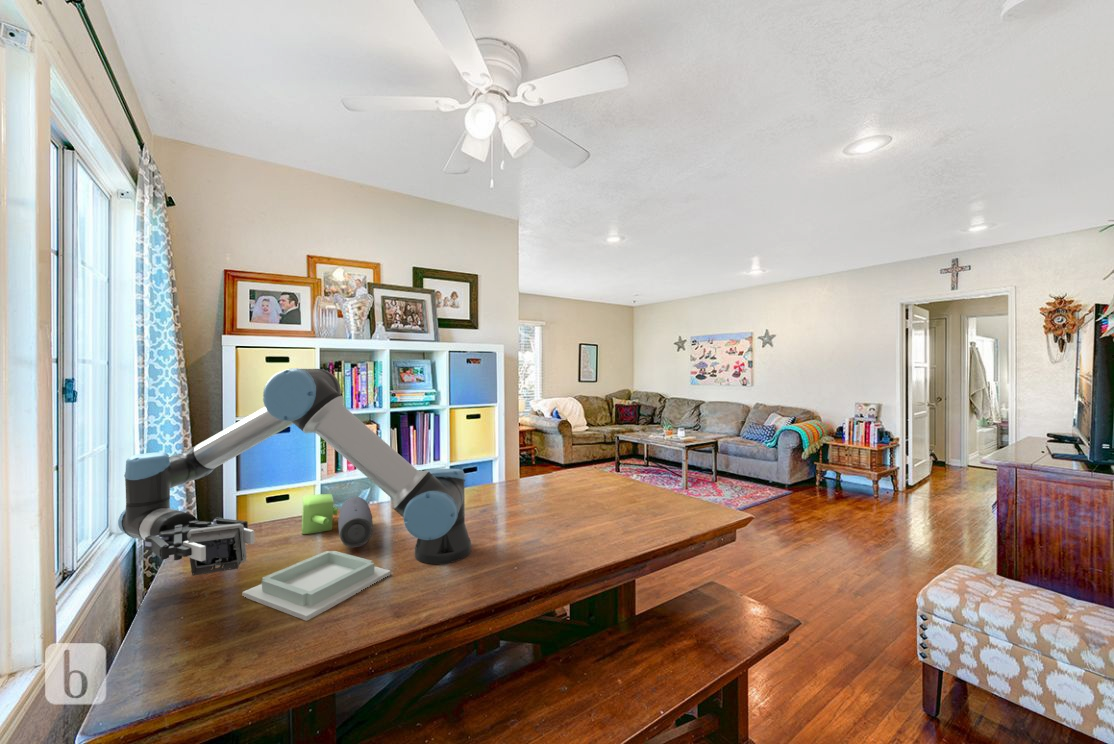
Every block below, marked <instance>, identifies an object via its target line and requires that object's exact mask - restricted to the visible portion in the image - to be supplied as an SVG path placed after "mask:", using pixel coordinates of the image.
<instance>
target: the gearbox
mask: <svg viewBox="0 0 1114 744" xmlns="http://www.w3.org/2000/svg"><path fill="white" fill-rule="evenodd" d="M302 500H303V501H302V514H301V515H302V517H301V535H306V534H307V535H308V534H316V533H317V534H318V533H321V532H322V533H323V532H329V531H332V530H333V520H334V515H335V516H337V515H338V506H335V507H334V498H333V494H331V493H326V494H325V493H324V494H321V493H320V494H311V495H310V494H308V495H303V499H302Z"/></svg>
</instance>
